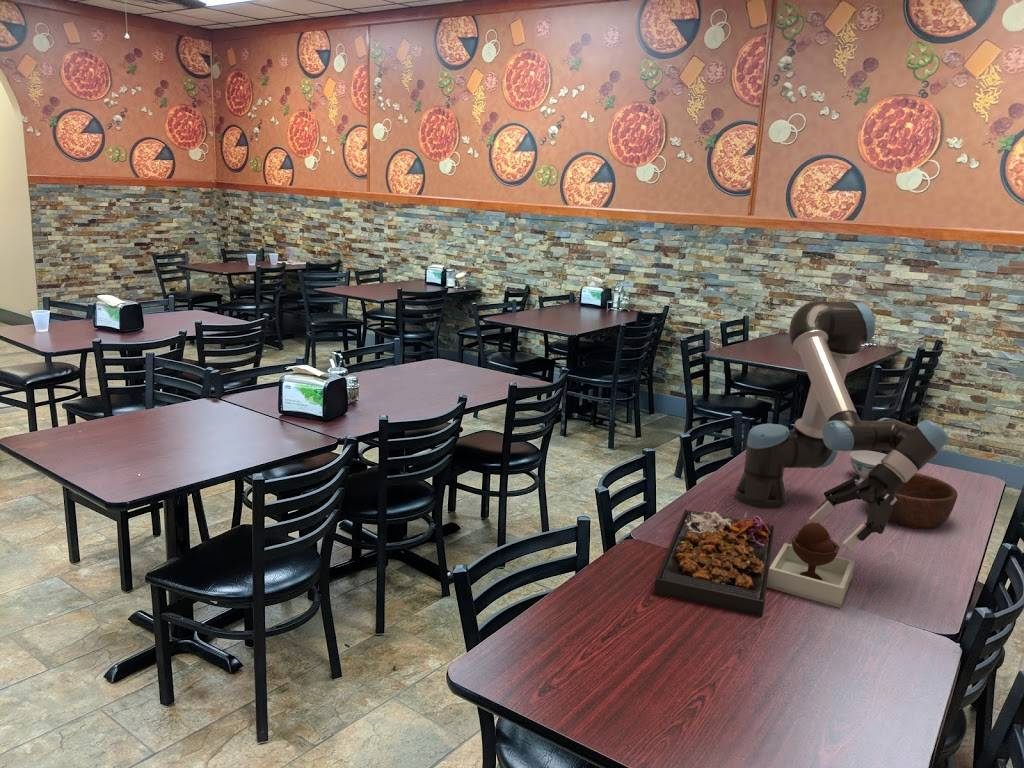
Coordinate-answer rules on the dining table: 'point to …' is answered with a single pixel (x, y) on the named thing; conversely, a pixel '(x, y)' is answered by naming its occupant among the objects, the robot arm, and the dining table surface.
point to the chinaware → (865, 461)
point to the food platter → (718, 562)
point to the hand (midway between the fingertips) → (828, 534)
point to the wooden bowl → (922, 502)
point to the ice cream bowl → (814, 548)
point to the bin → (790, 581)
